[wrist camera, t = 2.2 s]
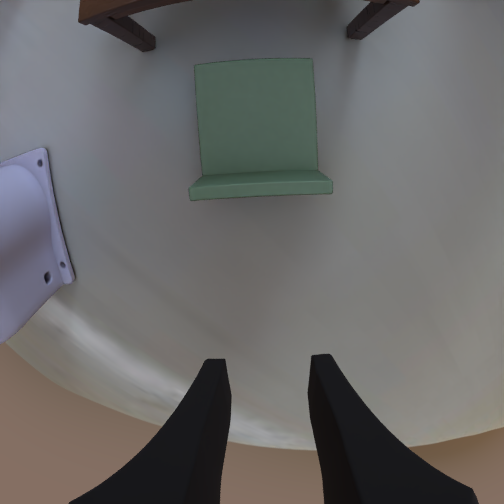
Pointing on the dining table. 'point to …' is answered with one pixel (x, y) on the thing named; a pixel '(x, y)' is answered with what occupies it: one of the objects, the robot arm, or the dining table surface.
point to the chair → (257, 129)
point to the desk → (126, 3)
